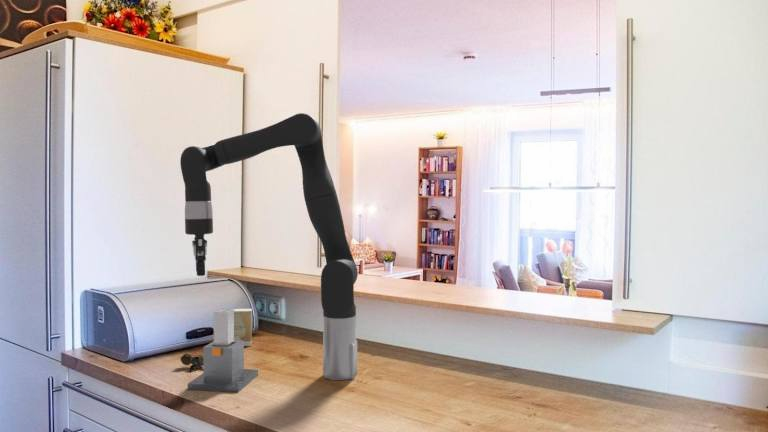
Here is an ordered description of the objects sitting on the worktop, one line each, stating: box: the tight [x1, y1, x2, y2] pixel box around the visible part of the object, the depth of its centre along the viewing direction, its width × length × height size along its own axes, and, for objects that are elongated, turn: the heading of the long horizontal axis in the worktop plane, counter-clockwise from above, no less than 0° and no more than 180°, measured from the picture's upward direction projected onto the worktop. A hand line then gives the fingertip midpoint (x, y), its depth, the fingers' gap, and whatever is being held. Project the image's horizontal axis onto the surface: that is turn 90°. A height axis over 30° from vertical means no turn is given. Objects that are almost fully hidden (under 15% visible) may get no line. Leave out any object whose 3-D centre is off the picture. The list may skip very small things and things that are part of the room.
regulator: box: [180, 353, 204, 374], centre depth 161 cm, size 8×4×15 cm
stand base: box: [187, 340, 259, 393], centre depth 150 cm, size 14×14×10 cm
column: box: [213, 308, 235, 347], centre depth 150 cm, size 4×4×18 cm
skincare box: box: [233, 308, 253, 347], centre depth 188 cm, size 6×4×12 cm
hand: (200, 273), depth 157 cm, fingers open, 8 cm apart
